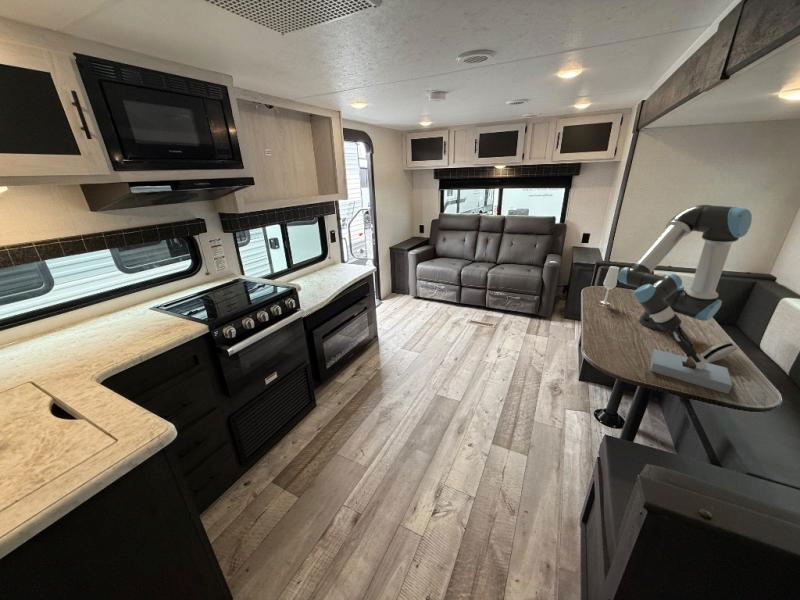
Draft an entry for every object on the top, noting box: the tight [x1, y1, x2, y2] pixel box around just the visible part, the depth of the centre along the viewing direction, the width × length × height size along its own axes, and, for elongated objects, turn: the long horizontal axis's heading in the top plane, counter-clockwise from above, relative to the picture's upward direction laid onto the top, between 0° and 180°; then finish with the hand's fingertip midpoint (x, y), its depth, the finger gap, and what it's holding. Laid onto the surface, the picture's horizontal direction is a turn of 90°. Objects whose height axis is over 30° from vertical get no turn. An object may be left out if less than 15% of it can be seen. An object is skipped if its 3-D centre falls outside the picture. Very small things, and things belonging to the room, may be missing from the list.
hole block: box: [649, 348, 733, 395], centre depth 130 cm, size 24×14×4 cm, turn 52°
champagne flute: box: [600, 265, 620, 304], centre depth 192 cm, size 7×7×24 cm
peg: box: [684, 340, 706, 369], centre depth 128 cm, size 3×3×13 cm
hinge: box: [701, 341, 739, 364], centre depth 139 cm, size 17×5×10 cm, turn 110°
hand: (703, 365), depth 127 cm, fingers closed on peg, 3 cm apart
